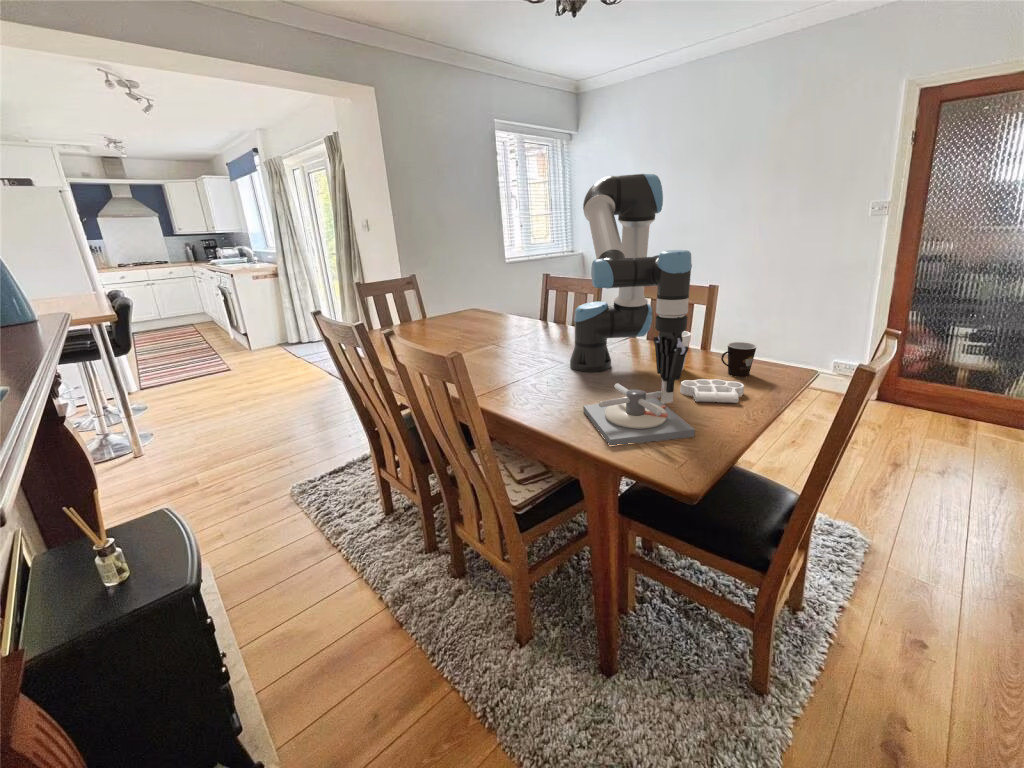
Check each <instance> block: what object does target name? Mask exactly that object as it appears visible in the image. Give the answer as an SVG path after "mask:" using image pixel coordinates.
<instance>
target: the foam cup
mask: <svg viewBox="0 0 1024 768" xmlns="http://www.w3.org/2000/svg"><path fill="white" fill-rule="evenodd" d="M691 337H692V333H691V332H689V331H686V330H685V331H683V332H682V339H683V341H682V344H683V346H684V347H686V346H687V347H688V348H689V345H690V342H691ZM687 355H688V352H687V353H686V355H685V359H684V363H683V368H682V371H684V369H685V368H684V367H685V365H686V363H685V362H686V359H687Z"/></svg>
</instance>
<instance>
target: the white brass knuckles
mask: <svg viewBox="0 0 1024 768" xmlns="http://www.w3.org/2000/svg"><path fill="white" fill-rule="evenodd" d="M744 390H745V385H744V384H743V383H741V382H739V381H734V380H733V381H731V380H730V381H728V380H722V379H715V378H714V379H706V378H699V379H694V380H693V379H692V380H689V379H685V380H683V381H681V382H680V390H679V392H680V393H681V394H683V395H684V396H688V395H689V396H691V397H692V396H693V397H692V398H693V400H694V399H695V401H696V402H695V401H694V402H695V403H697V402H701V403H715V402H717V403H722V404H723V403H726V404H738V403H739V401H740V400H739V399H740V398H741V397H743V396H744ZM742 395H743V396H742ZM740 396H741V397H740Z"/></svg>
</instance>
